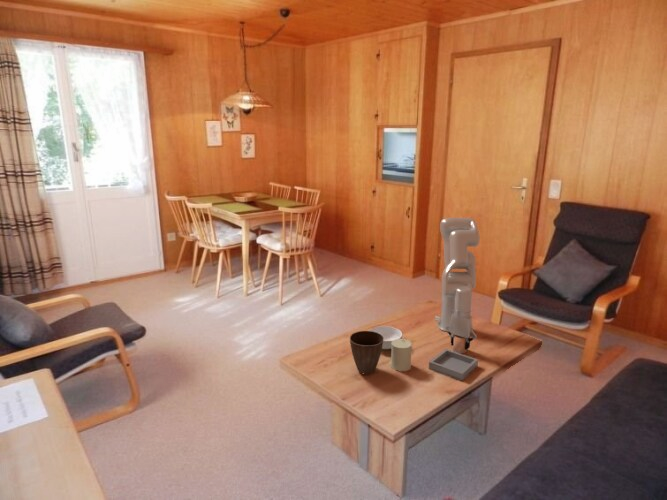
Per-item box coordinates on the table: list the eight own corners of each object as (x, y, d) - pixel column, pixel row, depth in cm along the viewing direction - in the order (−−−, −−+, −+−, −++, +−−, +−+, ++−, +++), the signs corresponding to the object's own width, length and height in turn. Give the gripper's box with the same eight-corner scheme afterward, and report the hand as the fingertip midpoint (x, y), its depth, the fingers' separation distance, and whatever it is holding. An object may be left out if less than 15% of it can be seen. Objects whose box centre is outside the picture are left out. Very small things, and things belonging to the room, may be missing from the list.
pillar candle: (412, 363, 209) (413, 339, 206) (409, 372, 201) (410, 348, 198) (392, 359, 212) (393, 336, 209) (388, 369, 204) (389, 345, 201)
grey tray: (428, 368, 204) (429, 361, 203) (445, 355, 216) (445, 348, 215) (461, 381, 194) (462, 373, 193) (477, 366, 206) (478, 359, 205)
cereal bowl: (363, 350, 222) (363, 337, 220) (373, 336, 237) (373, 323, 235) (397, 356, 216) (397, 342, 214) (405, 341, 231) (405, 328, 229)
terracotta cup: (450, 351, 220) (451, 335, 218) (456, 346, 225) (457, 331, 223) (462, 355, 216) (464, 339, 214) (468, 350, 221) (469, 335, 219)
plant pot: (344, 365, 208) (344, 333, 203) (373, 359, 213) (374, 328, 209) (358, 382, 194) (358, 348, 190) (388, 375, 199) (389, 342, 195)
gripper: (442, 310, 218) (440, 344, 223) (476, 319, 207) (473, 355, 212) (449, 305, 223) (447, 339, 228) (483, 314, 213) (480, 349, 217)
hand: (460, 346), depth 220 cm, fingers closed on terracotta cup, 6 cm apart
